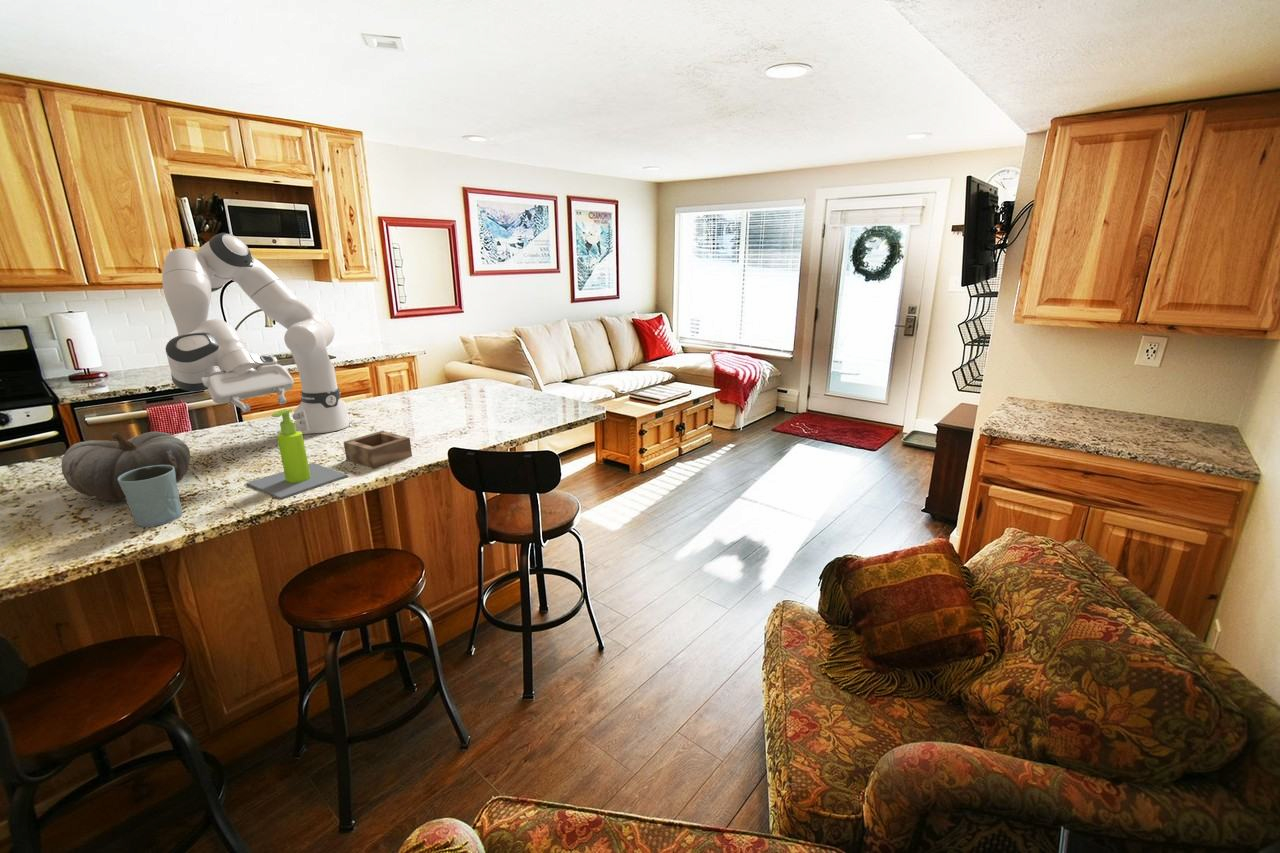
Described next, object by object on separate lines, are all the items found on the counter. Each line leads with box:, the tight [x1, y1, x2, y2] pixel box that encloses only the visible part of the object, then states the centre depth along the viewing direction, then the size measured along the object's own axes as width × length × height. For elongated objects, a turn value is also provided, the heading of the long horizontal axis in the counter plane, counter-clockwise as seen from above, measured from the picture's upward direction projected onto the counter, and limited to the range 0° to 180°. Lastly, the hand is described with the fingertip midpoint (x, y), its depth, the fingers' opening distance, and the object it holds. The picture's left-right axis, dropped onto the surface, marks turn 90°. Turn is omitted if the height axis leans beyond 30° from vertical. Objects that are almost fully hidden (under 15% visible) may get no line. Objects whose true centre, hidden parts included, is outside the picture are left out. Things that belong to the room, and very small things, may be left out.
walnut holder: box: [343, 430, 413, 470], centre depth 170 cm, size 14×13×6 cm
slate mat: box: [246, 462, 348, 500], centre depth 154 cm, size 18×18×1 cm
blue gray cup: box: [117, 465, 183, 528], centre depth 130 cm, size 10×10×12 cm
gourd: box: [61, 431, 191, 502], centre depth 145 cm, size 25×25×17 cm
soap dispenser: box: [271, 408, 311, 483], centre depth 150 cm, size 6×7×20 cm
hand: (265, 406), depth 153 cm, fingers open, 8 cm apart
